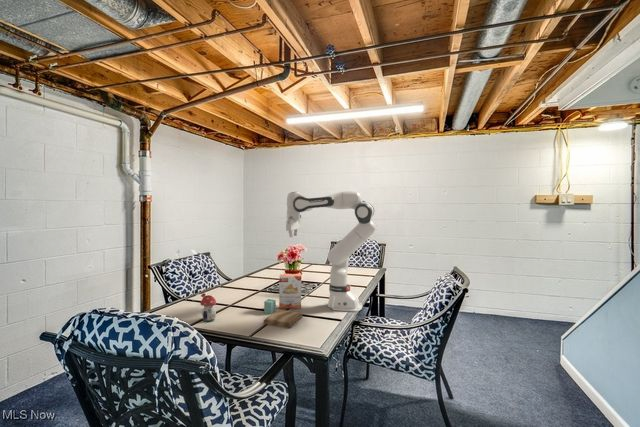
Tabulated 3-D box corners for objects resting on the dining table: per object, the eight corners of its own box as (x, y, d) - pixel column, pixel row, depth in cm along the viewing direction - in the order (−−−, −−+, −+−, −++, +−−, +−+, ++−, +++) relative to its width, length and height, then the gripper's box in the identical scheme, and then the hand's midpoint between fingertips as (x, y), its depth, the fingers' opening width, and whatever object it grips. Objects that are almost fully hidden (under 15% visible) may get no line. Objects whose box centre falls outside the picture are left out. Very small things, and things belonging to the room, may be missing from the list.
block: (275, 311, 185) (275, 300, 185) (271, 314, 181) (271, 302, 181) (268, 310, 187) (268, 299, 187) (264, 312, 183) (264, 301, 182)
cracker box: (279, 309, 189) (279, 276, 188) (279, 305, 195) (279, 273, 194) (301, 308, 190) (301, 276, 189) (301, 305, 196) (301, 273, 195)
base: (302, 317, 175) (302, 312, 175) (290, 328, 160) (290, 322, 160) (277, 313, 181) (277, 308, 181) (263, 323, 166) (263, 318, 166)
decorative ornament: (198, 320, 171) (198, 293, 170) (207, 316, 177) (207, 291, 176) (209, 323, 166) (209, 296, 166) (218, 319, 172) (218, 293, 172)
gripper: (293, 216, 191) (292, 238, 192) (302, 215, 211) (301, 235, 211) (283, 216, 192) (283, 238, 193) (293, 215, 212) (293, 234, 213)
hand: (293, 236), depth 202 cm, fingers open, 8 cm apart
